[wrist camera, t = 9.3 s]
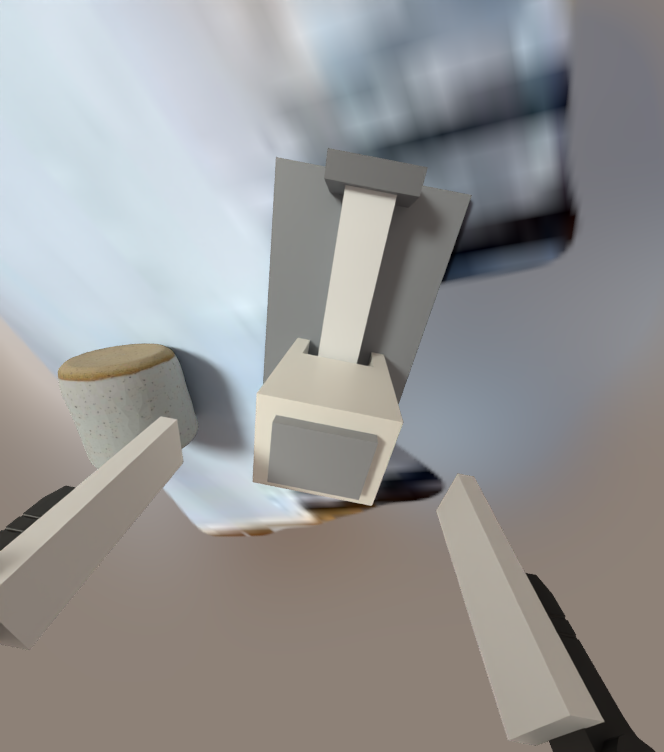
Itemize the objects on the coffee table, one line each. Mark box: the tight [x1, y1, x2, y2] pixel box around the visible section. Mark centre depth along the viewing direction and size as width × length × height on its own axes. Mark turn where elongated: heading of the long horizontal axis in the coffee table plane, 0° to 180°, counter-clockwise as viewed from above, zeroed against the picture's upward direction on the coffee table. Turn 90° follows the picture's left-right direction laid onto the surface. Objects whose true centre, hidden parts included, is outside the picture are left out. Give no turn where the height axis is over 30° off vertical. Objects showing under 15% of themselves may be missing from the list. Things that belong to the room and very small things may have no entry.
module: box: [253, 338, 403, 506], centre depth 17 cm, size 6×7×10 cm
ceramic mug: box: [58, 344, 198, 469], centre depth 20 cm, size 11×8×8 cm
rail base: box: [263, 148, 472, 404], centre depth 19 cm, size 24×12×4 cm, turn 170°
